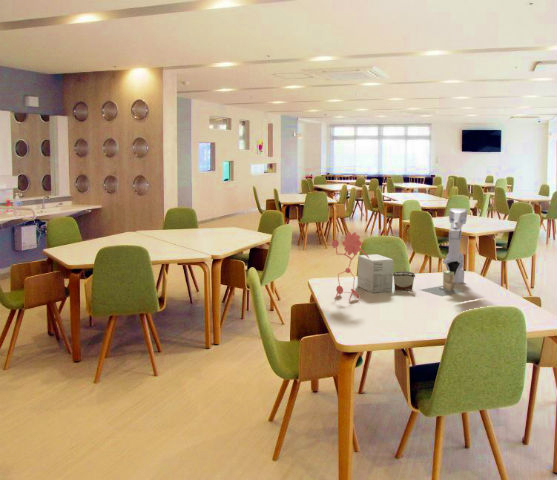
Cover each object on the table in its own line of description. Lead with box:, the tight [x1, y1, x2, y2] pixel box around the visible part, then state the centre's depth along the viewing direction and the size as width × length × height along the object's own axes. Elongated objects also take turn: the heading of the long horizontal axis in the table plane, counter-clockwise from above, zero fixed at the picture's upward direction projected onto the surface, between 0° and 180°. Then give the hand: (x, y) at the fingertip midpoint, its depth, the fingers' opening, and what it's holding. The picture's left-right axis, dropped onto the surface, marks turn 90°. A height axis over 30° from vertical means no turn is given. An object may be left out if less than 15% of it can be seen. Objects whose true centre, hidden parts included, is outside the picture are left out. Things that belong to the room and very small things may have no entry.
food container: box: [393, 270, 416, 292], centre depth 331 cm, size 12×6×10 cm, turn 84°
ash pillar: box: [442, 270, 455, 290], centre depth 327 cm, size 4×4×10 cm
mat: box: [420, 285, 465, 297], centre depth 326 cm, size 18×16×2 cm
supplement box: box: [356, 253, 394, 294], centre depth 332 cm, size 17×13×18 cm
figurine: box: [331, 231, 369, 304], centre depth 312 cm, size 15×26×35 cm, turn 43°
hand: (452, 275), depth 328 cm, fingers closed
